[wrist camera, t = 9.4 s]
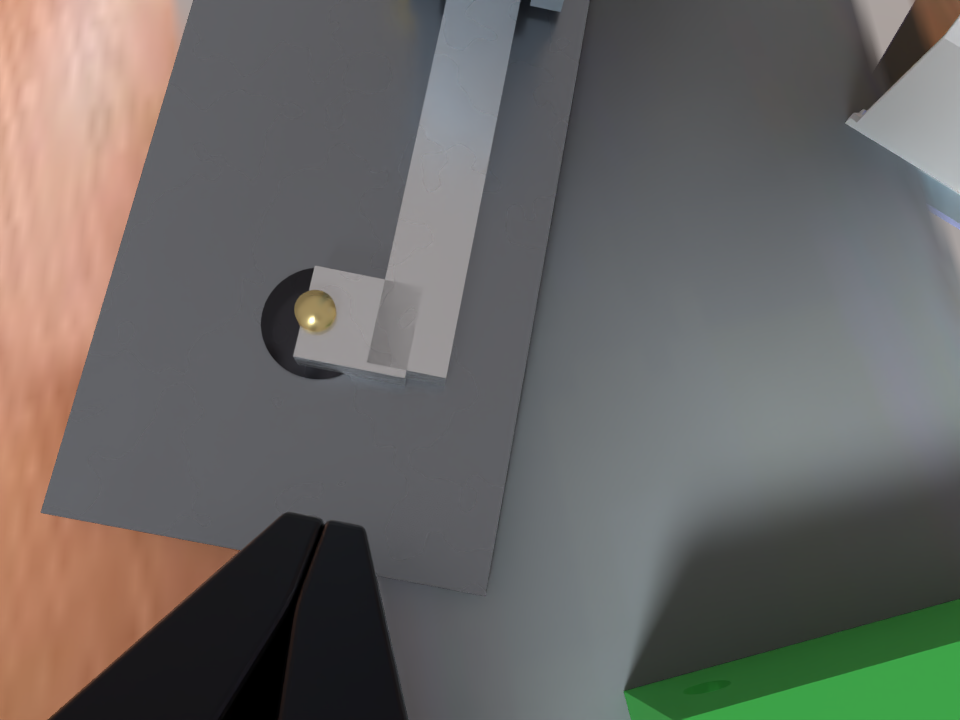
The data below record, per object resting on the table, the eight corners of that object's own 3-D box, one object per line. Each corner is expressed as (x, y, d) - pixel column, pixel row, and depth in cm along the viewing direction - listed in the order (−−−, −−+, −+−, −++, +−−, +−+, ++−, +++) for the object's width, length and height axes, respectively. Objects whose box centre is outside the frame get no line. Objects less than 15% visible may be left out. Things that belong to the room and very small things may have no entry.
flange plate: (483, 595, 22) (490, 598, 20) (50, 513, 22) (17, 509, 20) (609, -122, 27) (624, -171, 26) (260, -199, 27) (250, -255, 25)
